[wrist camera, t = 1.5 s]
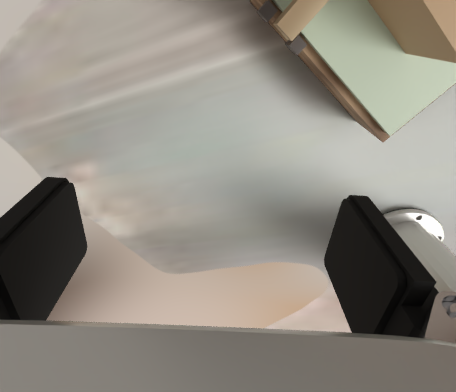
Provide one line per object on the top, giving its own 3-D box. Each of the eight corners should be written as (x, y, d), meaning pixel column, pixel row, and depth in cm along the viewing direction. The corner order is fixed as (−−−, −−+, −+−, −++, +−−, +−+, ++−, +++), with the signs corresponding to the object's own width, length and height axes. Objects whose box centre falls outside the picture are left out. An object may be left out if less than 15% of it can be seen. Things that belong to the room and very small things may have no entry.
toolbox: (467, 24, 30) (549, 25, 23) (351, 125, 36) (386, 155, 28) (366, -147, 24) (432, -225, 17) (244, 7, 30) (251, 2, 22)
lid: (506, 33, 25) (613, 38, 18) (385, 132, 29) (434, 167, 22) (399, -166, 19) (497, -271, 12) (268, -5, 23) (285, -15, 16)
